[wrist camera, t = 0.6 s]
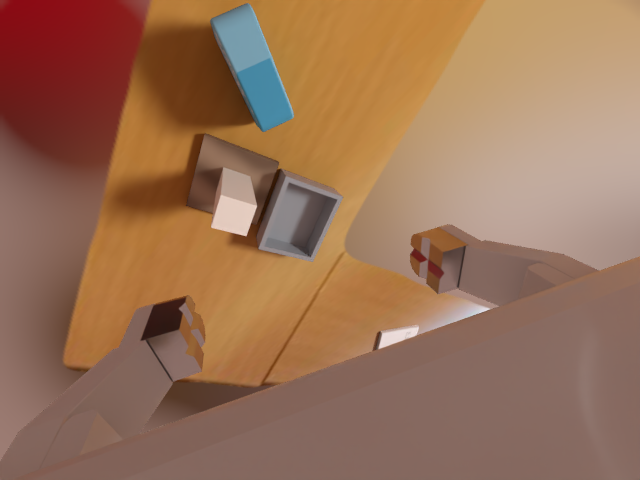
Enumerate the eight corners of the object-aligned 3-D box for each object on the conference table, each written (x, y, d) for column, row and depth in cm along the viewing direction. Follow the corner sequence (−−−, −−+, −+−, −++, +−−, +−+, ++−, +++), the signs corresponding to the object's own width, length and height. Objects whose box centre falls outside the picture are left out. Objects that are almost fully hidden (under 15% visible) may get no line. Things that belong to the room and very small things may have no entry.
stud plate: (205, 133, 42) (203, 136, 38) (277, 161, 47) (281, 166, 44) (187, 202, 46) (184, 211, 42) (255, 221, 51) (257, 230, 48)
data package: (214, 36, 37) (208, 16, 27) (244, 23, 37) (249, -2, 27) (255, 124, 43) (263, 134, 33) (281, 112, 44) (296, 118, 33)
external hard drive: (379, 329, 77) (416, 323, 81) (374, 349, 81) (409, 342, 85) (382, 333, 76) (419, 327, 80) (376, 353, 80) (412, 346, 83)
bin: (281, 168, 48) (286, 176, 43) (334, 188, 52) (343, 197, 48) (256, 236, 52) (258, 249, 48) (306, 249, 57) (312, 261, 53)
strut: (223, 167, 43) (220, 194, 32) (250, 176, 45) (257, 205, 34) (216, 192, 45) (211, 227, 33) (242, 200, 47) (246, 236, 35)
